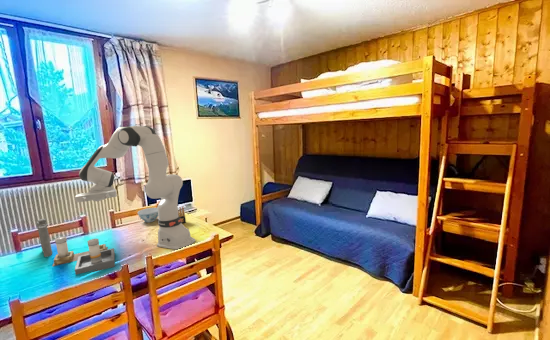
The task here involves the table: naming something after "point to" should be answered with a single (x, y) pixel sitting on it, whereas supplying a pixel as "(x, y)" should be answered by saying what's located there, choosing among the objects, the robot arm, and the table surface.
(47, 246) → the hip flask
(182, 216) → the ammunition clip
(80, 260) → the tray
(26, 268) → the table surface
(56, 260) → the fuse block
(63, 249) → the cylinder
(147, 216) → the chinaware
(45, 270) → the table surface
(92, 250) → the cylinder
